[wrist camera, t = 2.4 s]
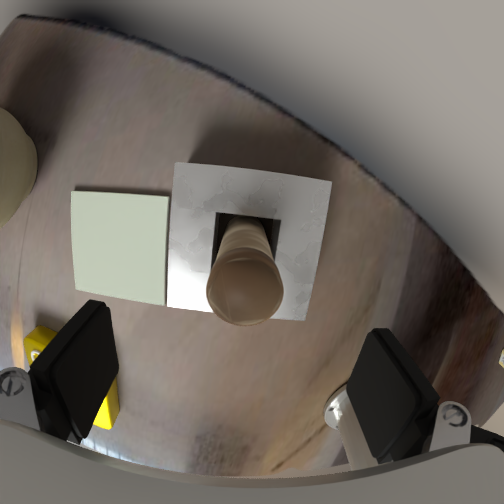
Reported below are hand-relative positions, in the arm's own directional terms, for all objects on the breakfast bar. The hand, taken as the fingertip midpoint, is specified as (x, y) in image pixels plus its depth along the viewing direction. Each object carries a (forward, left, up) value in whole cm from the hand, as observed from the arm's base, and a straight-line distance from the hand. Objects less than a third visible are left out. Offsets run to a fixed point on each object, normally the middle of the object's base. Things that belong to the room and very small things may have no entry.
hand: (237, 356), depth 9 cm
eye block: (0, 0, -20) cm, 20 cm away
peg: (0, 0, -20) cm, 20 cm away
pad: (+14, +3, -20) cm, 24 cm away
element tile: (+24, +25, -21) cm, 40 cm away
